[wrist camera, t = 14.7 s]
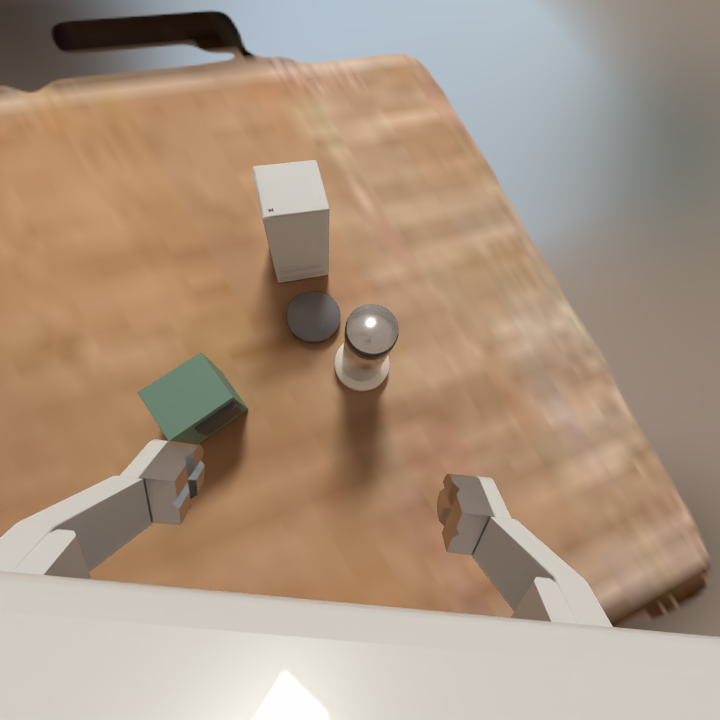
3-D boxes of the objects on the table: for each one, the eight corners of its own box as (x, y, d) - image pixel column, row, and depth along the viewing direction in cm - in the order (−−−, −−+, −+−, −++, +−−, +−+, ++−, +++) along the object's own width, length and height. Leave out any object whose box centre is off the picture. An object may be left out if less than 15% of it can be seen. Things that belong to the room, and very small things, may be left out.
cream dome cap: (357, 402, 42) (358, 400, 41) (323, 360, 43) (323, 357, 42) (398, 370, 44) (400, 367, 43) (365, 330, 45) (366, 327, 44)
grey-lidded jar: (358, 390, 41) (369, 363, 31) (332, 358, 42) (334, 322, 32) (389, 366, 43) (410, 332, 32) (364, 336, 43) (376, 293, 33)
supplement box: (329, 276, 47) (331, 210, 35) (277, 284, 46) (260, 218, 34) (319, 233, 49) (317, 157, 37) (269, 240, 48) (250, 164, 36)
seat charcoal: (308, 353, 43) (307, 349, 42) (277, 313, 45) (275, 309, 43) (350, 324, 45) (351, 320, 44) (319, 287, 46) (319, 282, 45)
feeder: (198, 451, 38) (172, 446, 32) (168, 405, 40) (137, 392, 33) (251, 413, 40) (236, 402, 34) (221, 371, 41) (201, 352, 35)
